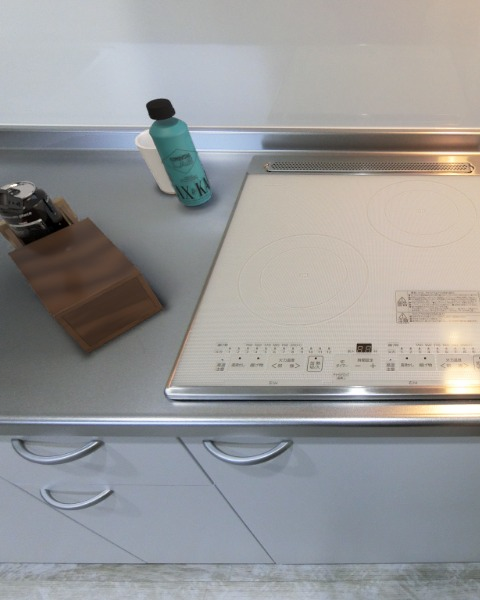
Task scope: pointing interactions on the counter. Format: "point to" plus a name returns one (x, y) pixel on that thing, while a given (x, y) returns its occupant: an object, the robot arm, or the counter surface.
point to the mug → (154, 161)
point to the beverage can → (33, 213)
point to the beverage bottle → (178, 153)
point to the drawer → (62, 207)
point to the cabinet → (86, 283)
